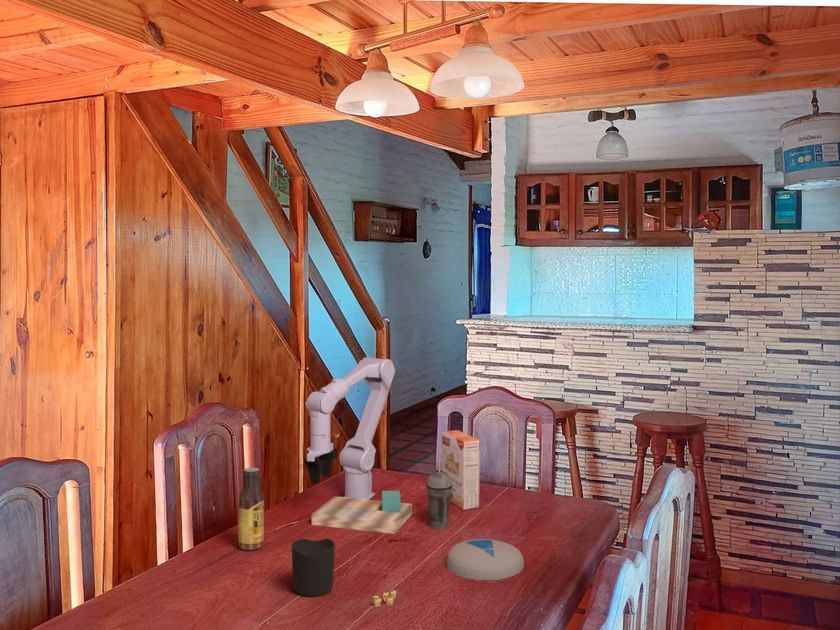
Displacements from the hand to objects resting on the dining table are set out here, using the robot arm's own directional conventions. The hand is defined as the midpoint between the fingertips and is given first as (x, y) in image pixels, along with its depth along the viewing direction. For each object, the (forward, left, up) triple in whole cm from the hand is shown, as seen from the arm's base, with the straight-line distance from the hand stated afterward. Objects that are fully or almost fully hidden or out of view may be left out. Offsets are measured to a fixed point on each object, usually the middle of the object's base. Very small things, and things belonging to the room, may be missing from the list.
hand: (320, 479), depth 213 cm
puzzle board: (+3, +14, -9) cm, 17 cm away
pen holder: (+48, +19, -10) cm, 53 cm away
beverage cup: (+2, +36, -10) cm, 37 cm away
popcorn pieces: (+49, +36, -10) cm, 62 cm away
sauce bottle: (+30, -6, -10) cm, 32 cm away
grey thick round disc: (+24, +53, -10) cm, 59 cm away
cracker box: (-20, +37, -10) cm, 43 cm away
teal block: (-1, +21, -8) cm, 23 cm away
